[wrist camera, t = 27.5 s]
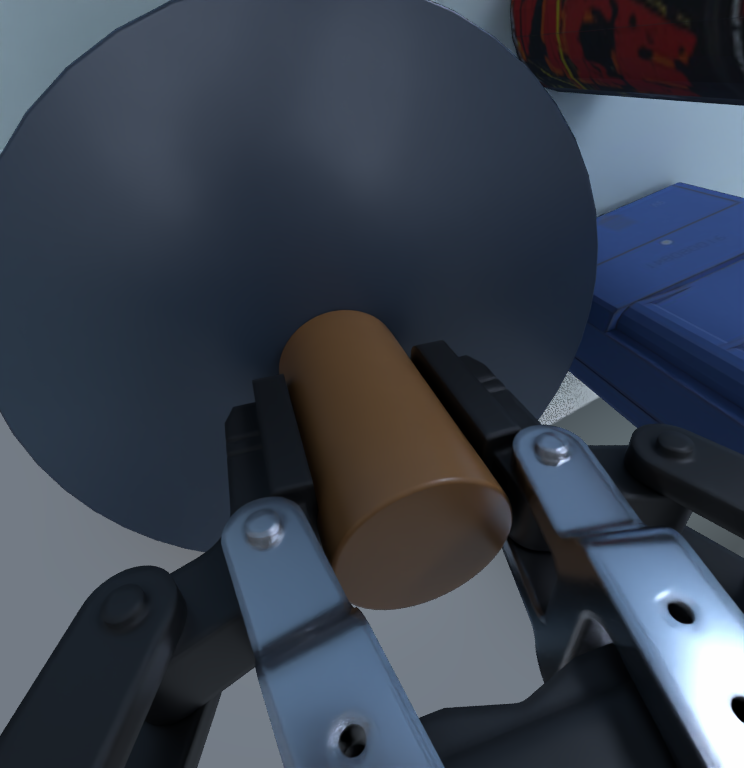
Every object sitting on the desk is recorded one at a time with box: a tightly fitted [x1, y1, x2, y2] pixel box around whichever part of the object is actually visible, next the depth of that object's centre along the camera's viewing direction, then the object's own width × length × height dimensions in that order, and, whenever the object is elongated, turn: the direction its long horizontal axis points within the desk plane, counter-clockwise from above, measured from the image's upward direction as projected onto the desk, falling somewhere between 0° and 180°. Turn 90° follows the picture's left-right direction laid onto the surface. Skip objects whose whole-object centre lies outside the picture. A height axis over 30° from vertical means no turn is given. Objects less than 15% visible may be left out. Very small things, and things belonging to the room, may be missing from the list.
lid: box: [0, 0, 598, 610], centre depth 10 cm, size 16×16×7 cm
